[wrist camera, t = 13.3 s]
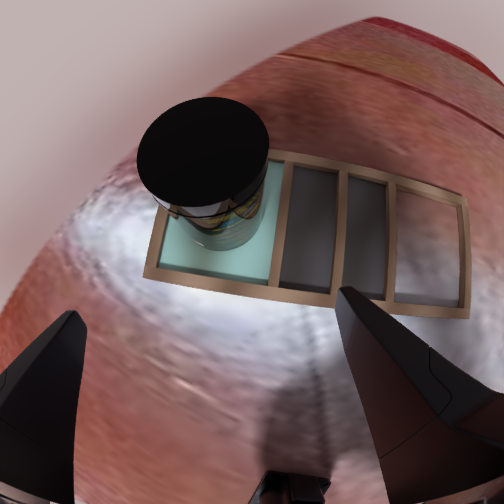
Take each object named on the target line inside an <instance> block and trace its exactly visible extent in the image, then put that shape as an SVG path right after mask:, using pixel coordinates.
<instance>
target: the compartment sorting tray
mask: <svg viewBox="0 0 504 504" xmlns="http://www.w3.org/2000/svg"><path fill="white" fill-rule="evenodd" d="M396 189H397V190H401V191H405V192H408V193H412V194H415V195H419V196H422V197H425V198H429V199H432V200H435V201H438V202H442V203H445V204H448V205H451V206H454V207H457V215H458V227H459V244H460V287H459V304H458V308H451V307H439V306H428V305H417V304H407V303H397V302H394V291H395V278H396V260H397V200H396ZM471 277H472V262H471V237H470V224H469V214H468V205H467V198H464V197H462V196H459V195H456V194H454V193H451V192H448V191H445V190H442V189H439V188H436V187H433V186H430V185H427V184H424V183H421V182H418V181H415V180H412V179H408V178H405V177H401V176H398V175H394V174H391V173H387V172H383V171H380V170H376V169H372V168H368V167H364V166H360V165H355V164H351V163H346V162H342V161H337V160H332V159H328V158H322V157H317V156H312V155H306V154H301V153H295V152H288V151H282V150H275V149H269V154H268V169H267V173H266V181H265V193H264V204H263V216H262V221H261V224H260V226H259V229H258V230H257V232H256V233H255V235H254V236H253V237H252V238H251V239H250V240H249V241H248V242H247V243H245V244H244V245H242V246H240V247H238V248H236V249H233V250H229V251H212V250H208V249H206V248H203V247H201V246H199V245H198V244H197V243H195V242H194V241H193V240H192V239H191V238H190V237H189V236H188V235H187V233H186V232H185V231H184V230H183V229H182V228H181V227H180V225H179V224H178V223H177V222H176V221H175V220H174V219H173V217H172V216H171V215H170V214H169V213H168V212H167V211H166V209H165V208H163V207H162V206H161V205H160V204H159V207H158V210H157V214H156V218H155V222H154V226H153V230H152V235H151V239H150V244H149V248H148V253H147V257H146V262H145V267H144V272H143V278H146V279H151V280H156V281H161V282H166V283H171V284H176V285H182V286H187V287H193V288H198V289H204V290H209V291H215V292H221V293H227V294H233V295H240V296H246V297H252V298H259V299H266V300H272V301H280V302H287V303H294V304H302V305H309V306H317V307H326V308H334V309H335V303H336V297H337V291H338V289H339V288H340V287H345V286H352V287H353V288H355V289H356V290H358V291H359V292H360V293H362V294H363V295H364V296H366V297H367V298H368V299H370V300H371V301H372V302H374V303H375V304H376V305H377V306H379V307H380V308H381V309H383V310H384V311H385V312H387V313H388V314H395V315H407V316H421V317H436V318H455V319H469V315H470V302H471Z"/></svg>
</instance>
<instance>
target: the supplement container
mask: <svg viewBox="0 0 504 504" xmlns="http://www.w3.org/2000/svg"><path fill="white" fill-rule="evenodd" d="M268 154H269V137H268V133H267V130H266V127H265V125H264V123H263V122H262V120H261V119H260V117H259V116H258V115H257V114H256V113H255V112H254V111H253V110H251V109H250V108H249V107H247V106H245V105H244V104H242V103H240V102H237V101H234V100H231V99H227V98H221V97H202V98H197V99H192V100H188V101H185V102H183V103H180V104H178V105H176V106H174V107H172V108H170V109H168V110H167V111H166V112H164V113H163V114H161V115H160V116H159V117H158V118H157V119H156V120H155V121H154V122H153V123H152V124H151V125H150V127H149V128H148V129H147V130H146V132H145V134H144V135H143V137H142V139H141V142H140V145H139V148H138V152H137V169H138V173H139V176H140V179H141V181H142V182H143V184H144V186H145V187H146V188H147V189H148V191H149V192H150V193H151V194H152V196H153V197H154V198H155V200H156V201H157V202H158V203H159V204H160V205H161V206H162V207H163V208H165V209H166V211H167V212H168V213H169V214H170V215H171V216H172V217H173V219H174V220H175V221H176V222H177V223H178V224H179V225H180V227H181V228H182V229H183V230H184V231H185V232H186V233H187V235H188V236H189V237H190V238H191V239H192V240H193V241H194V242H195V243H197V244H198V245H199V246H201V247H203V248H206V249H208V250H212V251H229V250H233V249H236V248H238V247H240V246H242V245H244V244H245V243H247V242H248V241H249V240H250V239H251V238H252V237H253V236H254V235H255V233H256V232H257V230H258V229H259V226H260V224H261V221H262V216H263V204H264V193H265V181H266V173H267V169H268Z"/></svg>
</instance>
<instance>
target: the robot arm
mask: <svg viewBox="0 0 504 504" xmlns="http://www.w3.org/2000/svg"><path fill="white" fill-rule="evenodd" d="M335 313H336V317H337V321H338V325H339V329H340V334H341V338H342V342H343V347H344V351H345V354H346V357H347V360H348V363H349V366H350V369H351V372H352V375H353V378H354V381H355V384H356V387H357V390H358V393H359V396H360V399H361V402H362V405H363V408H364V411H365V415H366V418H367V421H368V424H369V428H370V431H371V434H372V438H373V441H374V445H375V448H376V452H377V455H378V459H379V463H380V467H381V471H382V474H383V478H384V482H385V486H386V490H387V495H388V499H389V503H390V504H416V503H421V502H424V503H422V504H504V394H503V393H499V392H496V391H493V390H491V389H490V388H488V387H486V386H485V385H483V384H482V383H480V382H479V381H477V380H476V379H474V378H473V377H471V376H470V375H468V374H467V373H465V372H464V371H462V370H461V369H459V368H458V367H457V366H455V365H454V364H452V363H451V362H449V361H448V360H447V359H446V358H444V357H443V356H442V355H440V354H439V353H438V352H437V351H435V350H434V349H433V348H432V347H429V345H428V344H426V343H425V342H424V341H423V340H421V339H420V338H419V337H418V336H416V335H415V334H414V333H412V332H411V331H410V330H409V329H407V328H406V327H405V326H404V325H402V324H401V323H400V322H398V321H397V320H396V319H394V318H393V317H392V316H391V315H389V314H388V313H387V312H385V311H384V310H383V309H381V308H380V307H379V306H377V305H376V304H375V303H374V302H372V301H371V300H370V299H368V298H367V297H366V296H364V295H363V294H362V293H360V292H359V291H358V290H356V289H355V288H353V287H352V286H345V287H340V288H339V289H338V291H337V297H336V303H335ZM86 338H87V326H86V324H85V323H84V321H83V320H82V318H81V317H80V315H79V313H78V312H77V311H75V310H68V311H65V312H64V313H63V314H62V315H61V316H60V317H59V318H58V319H56V320H55V321H54V322H53V323H52V324H51V325H50V326H49V327H48V328H47V329H46V330H45V331H43V332H42V333H41V334H40V335H39V336H38V337H37V338H36V339H35V340H34V341H33V342H32V343H31V344H30V345H29V346H28V347H27V348H26V349H25V350H24V351H23V352H22V353H21V354H20V355H19V356H18V357H17V358H16V359H15V360H14V361H13V362H12V363H11V364H10V365H9V366H8V368H6V369H5V370H4V371H3V372H2V373H1V374H0V504H50V501H51V502H55V503H58V504H75V501H74V463H73V462H74V439H75V425H76V415H77V406H78V398H79V391H80V385H81V378H82V372H83V365H84V355H85V346H86ZM269 475H273V476H269ZM324 483H326V484H324ZM330 485H331V482H330V480H329V479H325V478H316V477H312V476H304V475H297V474H287V473H281V472H276V471H268V472H266V473H265V475H264V477H263V479H262V481H261V483H260V485H259V486H258V488H257V490H256V492H255V494H254V495H253V497H252V499H251V501H250V502H249V504H325V498H324V496H323V495H324V494H325V492H326V491H327V489H328V488H329V486H330Z"/></svg>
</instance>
